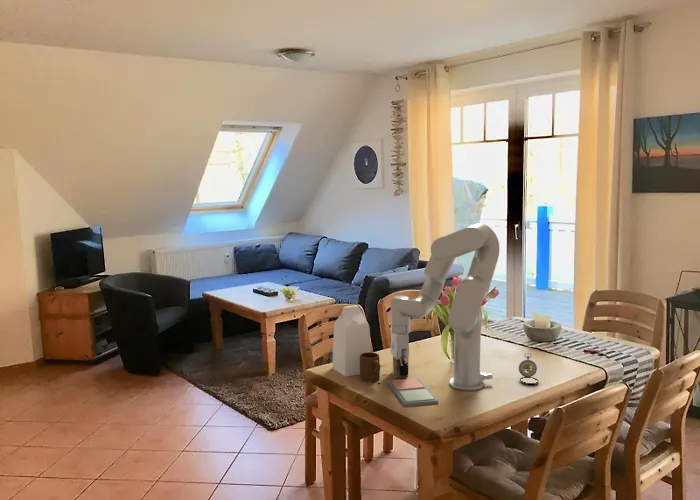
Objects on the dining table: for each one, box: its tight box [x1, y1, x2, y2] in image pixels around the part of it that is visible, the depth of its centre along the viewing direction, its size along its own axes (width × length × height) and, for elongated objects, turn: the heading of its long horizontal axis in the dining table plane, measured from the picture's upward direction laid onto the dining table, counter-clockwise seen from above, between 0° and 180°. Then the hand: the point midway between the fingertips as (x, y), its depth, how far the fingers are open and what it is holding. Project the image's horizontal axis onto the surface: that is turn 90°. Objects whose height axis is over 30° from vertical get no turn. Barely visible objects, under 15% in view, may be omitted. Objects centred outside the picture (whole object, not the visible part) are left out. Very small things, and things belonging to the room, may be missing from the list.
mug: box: [359, 351, 381, 383], centre depth 223 cm, size 12×8×9 cm, turn 23°
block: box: [392, 356, 409, 379], centre depth 228 cm, size 4×4×7 cm
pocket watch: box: [518, 352, 539, 385], centre depth 220 cm, size 8×8×10 cm
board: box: [387, 377, 439, 407], centre depth 211 cm, size 12×22×1 cm, turn 11°
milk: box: [331, 304, 372, 377], centre depth 235 cm, size 12×12×26 cm
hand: (400, 370), depth 229 cm, fingers open, 9 cm apart
